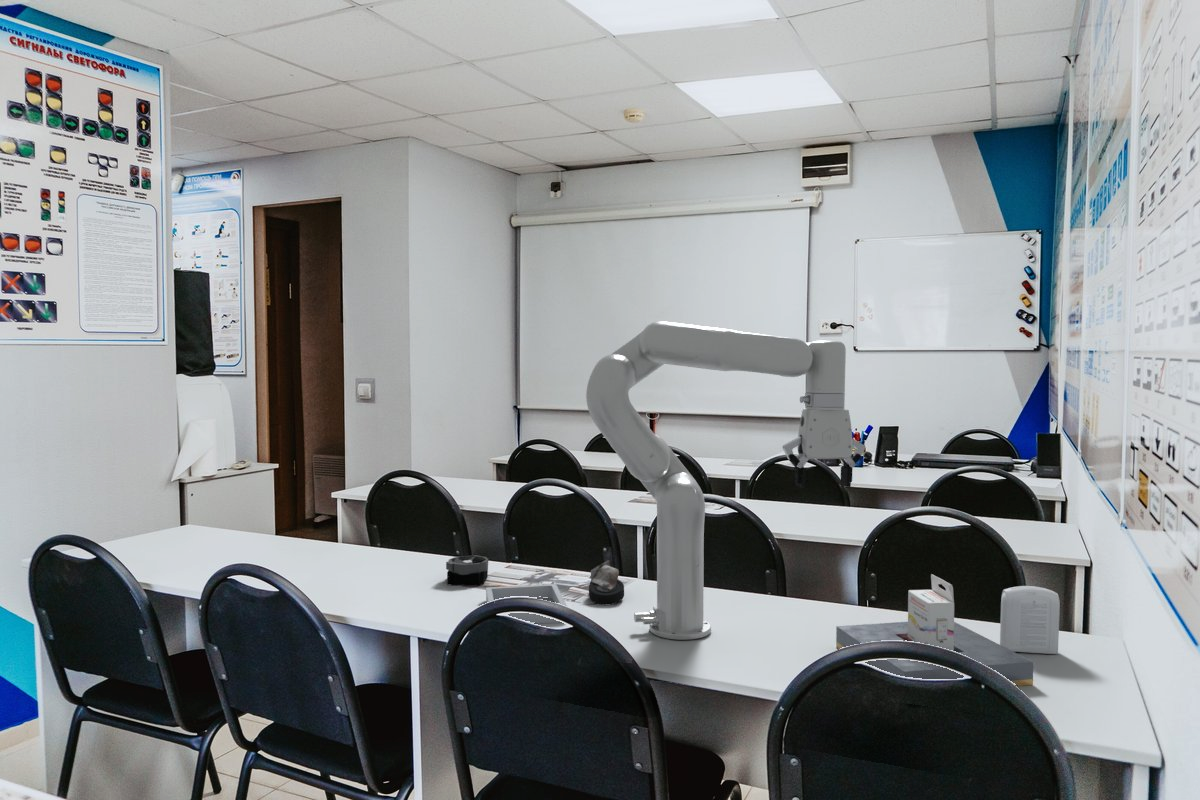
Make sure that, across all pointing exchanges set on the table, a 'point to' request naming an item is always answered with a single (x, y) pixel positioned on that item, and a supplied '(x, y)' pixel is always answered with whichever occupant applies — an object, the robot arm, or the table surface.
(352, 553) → the table surface
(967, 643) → the dock
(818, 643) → the table surface
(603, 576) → the caster wheel
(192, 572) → the table surface
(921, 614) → the ink cartridge box
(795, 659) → the table surface
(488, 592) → the charger corral
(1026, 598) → the photo printer
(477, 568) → the cpu cooler
